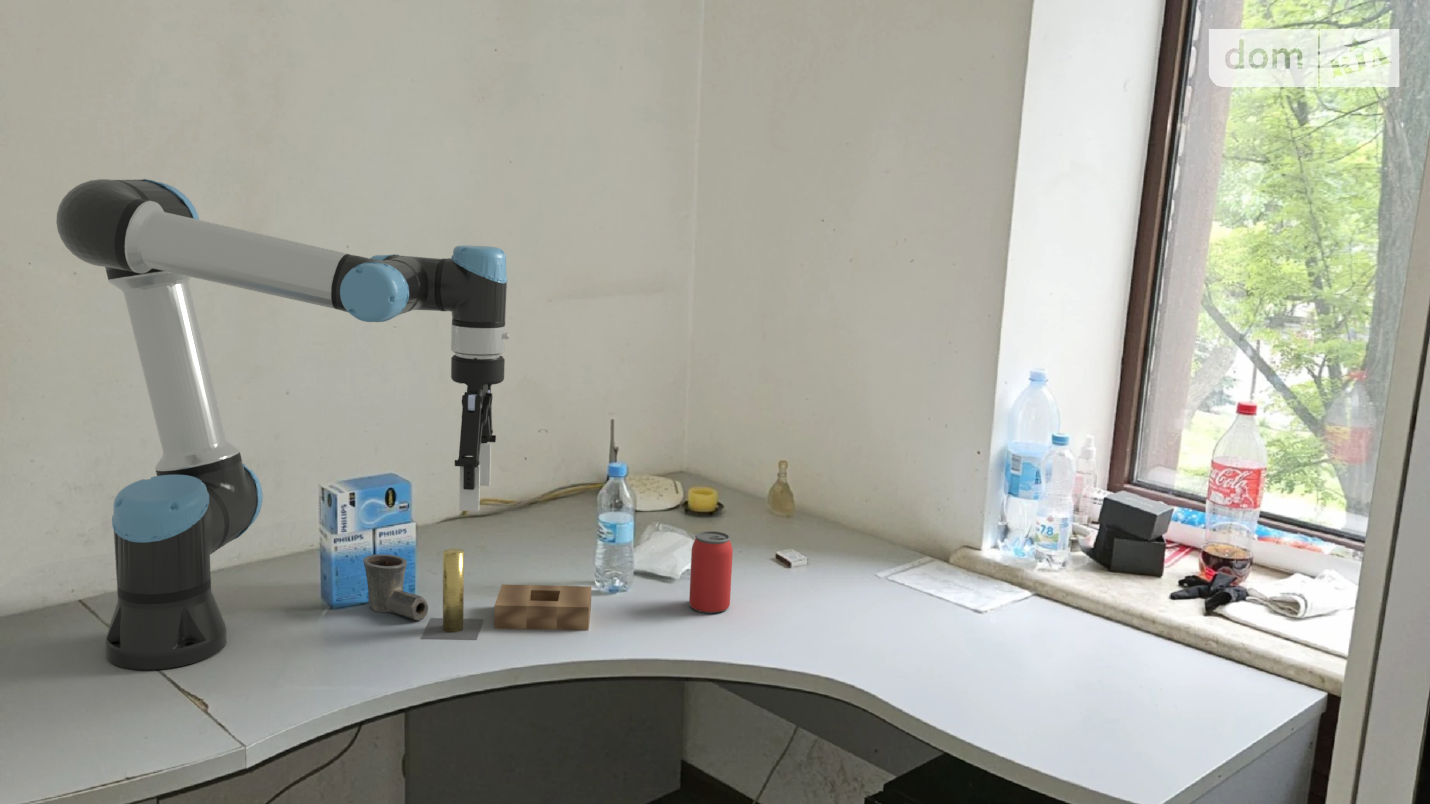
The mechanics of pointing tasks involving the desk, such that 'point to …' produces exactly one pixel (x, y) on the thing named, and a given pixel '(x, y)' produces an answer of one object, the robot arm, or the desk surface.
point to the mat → (468, 633)
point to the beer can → (711, 572)
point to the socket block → (543, 607)
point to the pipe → (391, 587)
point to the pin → (453, 590)
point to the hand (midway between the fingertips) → (475, 497)
